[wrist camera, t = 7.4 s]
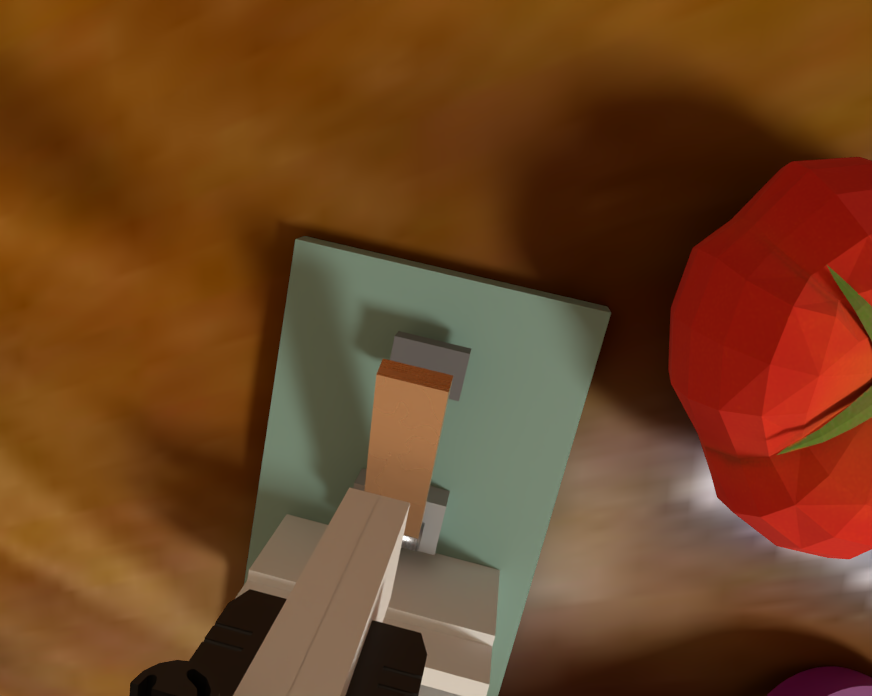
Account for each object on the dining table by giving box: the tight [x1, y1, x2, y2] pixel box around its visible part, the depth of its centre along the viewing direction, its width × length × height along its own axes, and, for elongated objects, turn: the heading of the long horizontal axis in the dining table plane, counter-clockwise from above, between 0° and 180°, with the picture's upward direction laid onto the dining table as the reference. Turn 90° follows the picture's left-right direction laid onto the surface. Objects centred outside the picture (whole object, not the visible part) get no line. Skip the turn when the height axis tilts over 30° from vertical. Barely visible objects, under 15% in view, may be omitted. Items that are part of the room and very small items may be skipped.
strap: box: [364, 359, 453, 552], centre depth 25 cm, size 10×3×1 cm, turn 169°
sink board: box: [235, 236, 611, 696], centre depth 29 cm, size 30×13×8 cm, turn 168°
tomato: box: [668, 157, 872, 559], centre depth 23 cm, size 14×13×9 cm
